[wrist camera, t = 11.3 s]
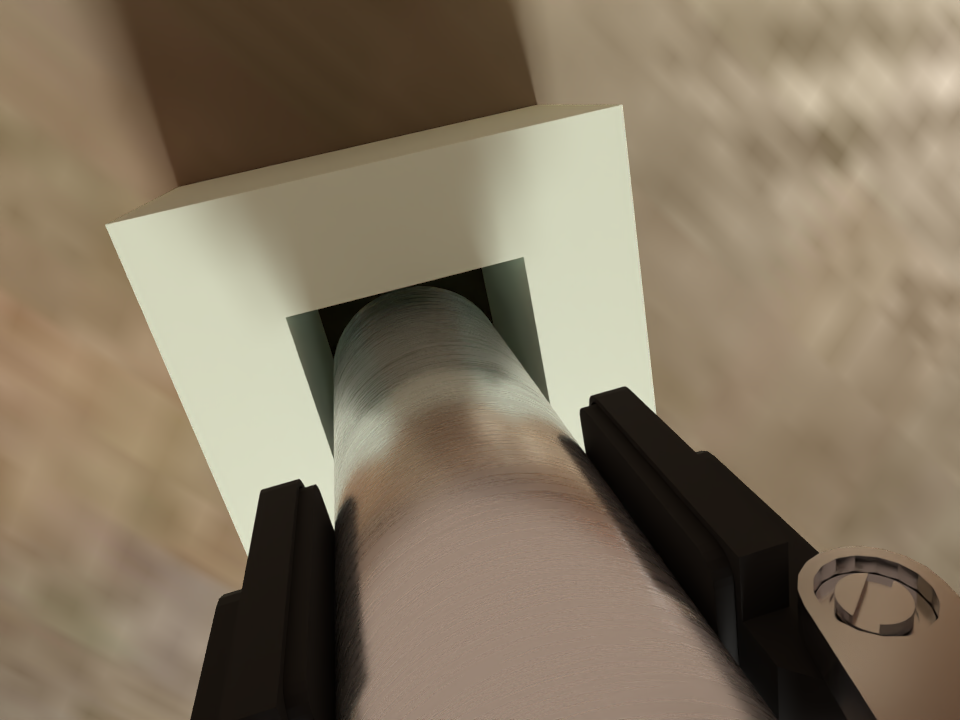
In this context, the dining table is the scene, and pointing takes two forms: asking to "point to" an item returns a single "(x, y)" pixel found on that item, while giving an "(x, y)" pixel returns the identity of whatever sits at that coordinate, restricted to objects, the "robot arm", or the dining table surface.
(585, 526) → the steel peg
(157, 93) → the dining table surface
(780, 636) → the robot arm
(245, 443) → the block
